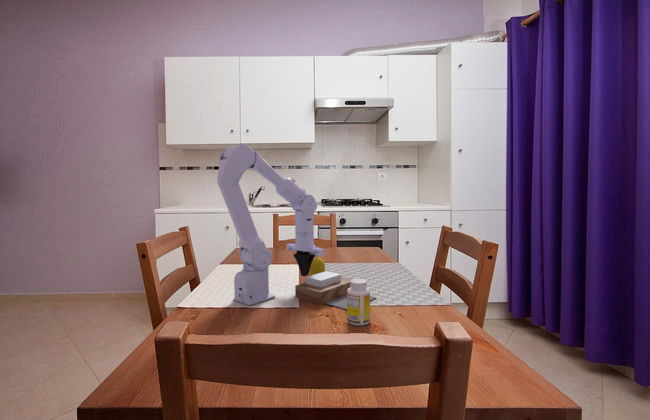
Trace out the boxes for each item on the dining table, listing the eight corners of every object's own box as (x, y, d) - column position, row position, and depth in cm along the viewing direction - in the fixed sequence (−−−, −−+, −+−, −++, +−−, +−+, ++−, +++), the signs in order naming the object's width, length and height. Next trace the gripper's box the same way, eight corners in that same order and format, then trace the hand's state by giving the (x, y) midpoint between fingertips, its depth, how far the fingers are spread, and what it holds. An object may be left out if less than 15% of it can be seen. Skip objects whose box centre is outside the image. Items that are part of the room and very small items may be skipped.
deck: (320, 304, 103) (320, 292, 102) (295, 297, 109) (295, 285, 109) (355, 291, 115) (355, 280, 114) (330, 285, 121) (330, 274, 121)
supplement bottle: (367, 317, 94) (367, 277, 93) (372, 326, 88) (372, 283, 87) (345, 318, 93) (345, 278, 92) (348, 327, 88) (349, 284, 87)
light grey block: (321, 287, 107) (321, 280, 107) (306, 283, 111) (306, 276, 111) (340, 280, 114) (340, 274, 114) (326, 277, 118) (326, 271, 118)
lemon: (306, 278, 129) (306, 255, 129) (321, 276, 132) (320, 254, 131) (312, 282, 124) (312, 258, 124) (327, 280, 127) (327, 257, 126)
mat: (348, 310, 98) (348, 309, 98) (325, 303, 104) (325, 302, 104) (376, 298, 108) (376, 297, 108) (354, 292, 113) (354, 291, 113)
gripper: (330, 233, 115) (330, 276, 116) (297, 229, 124) (297, 269, 125) (314, 236, 109) (315, 281, 111) (281, 231, 119) (282, 273, 120)
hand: (304, 275), depth 118 cm, fingers closed
